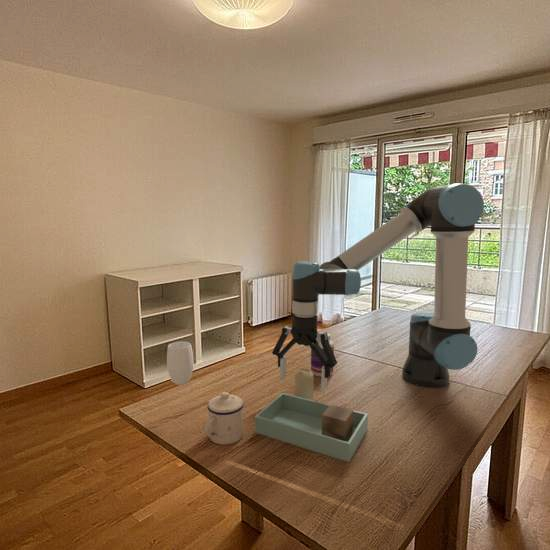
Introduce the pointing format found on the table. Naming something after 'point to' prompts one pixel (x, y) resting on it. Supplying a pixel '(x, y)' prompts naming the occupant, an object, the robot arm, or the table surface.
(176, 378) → the grey rounded cylinder
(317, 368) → the pill bottle
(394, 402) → the table surface
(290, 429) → the tote
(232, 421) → the teacup with lid
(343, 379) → the table surface
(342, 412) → the walnut block
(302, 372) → the candle
